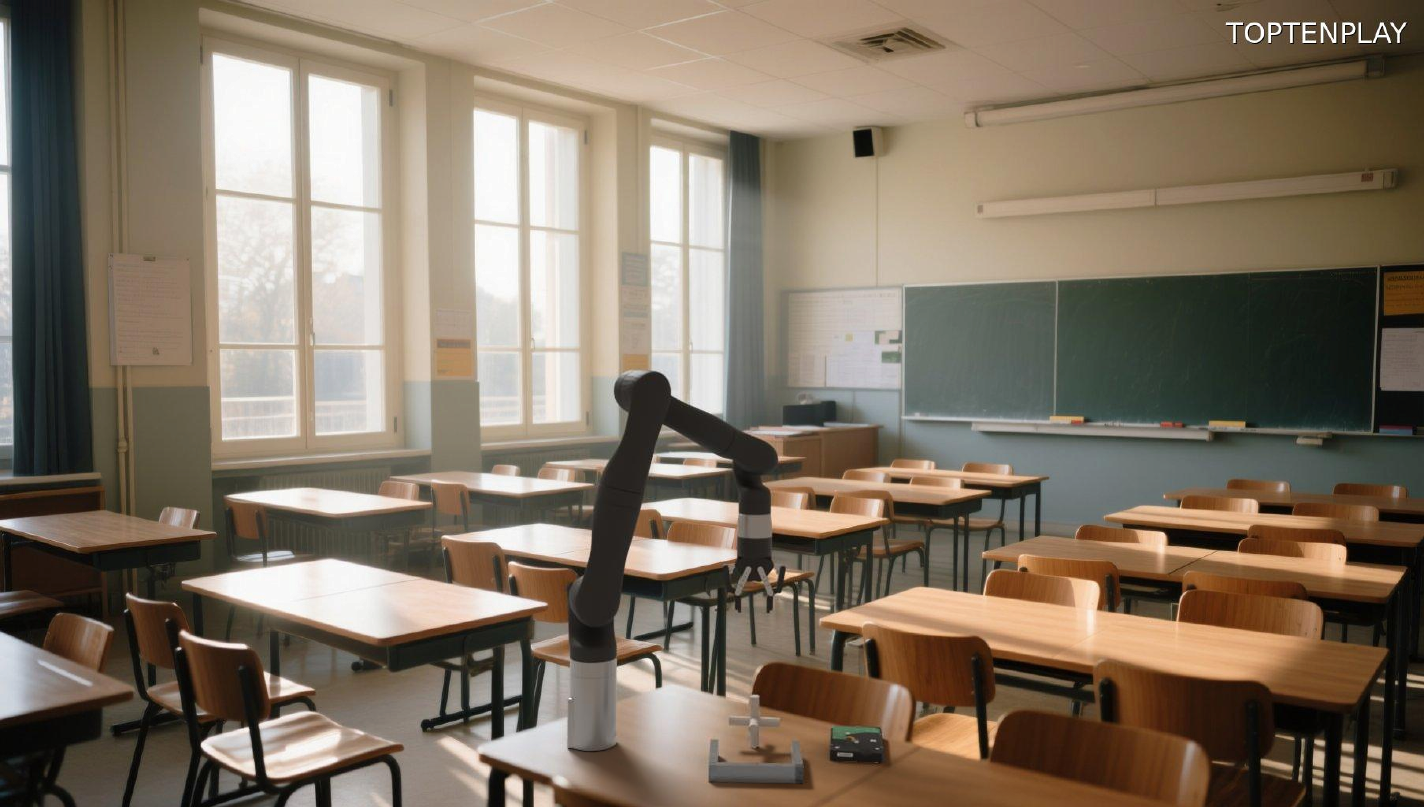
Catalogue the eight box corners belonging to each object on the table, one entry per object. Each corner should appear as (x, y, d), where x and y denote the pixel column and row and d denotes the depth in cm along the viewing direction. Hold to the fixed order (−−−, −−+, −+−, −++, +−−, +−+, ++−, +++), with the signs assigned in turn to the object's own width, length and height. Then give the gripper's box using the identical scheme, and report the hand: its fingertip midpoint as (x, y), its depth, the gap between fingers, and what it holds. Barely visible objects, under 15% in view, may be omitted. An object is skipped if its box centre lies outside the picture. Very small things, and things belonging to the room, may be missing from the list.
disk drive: (884, 767, 191) (881, 739, 206) (884, 752, 191) (881, 726, 206) (829, 764, 192) (829, 737, 207) (829, 749, 192) (830, 723, 207)
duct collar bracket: (708, 781, 181) (708, 765, 181) (710, 755, 195) (710, 739, 195) (803, 783, 181) (803, 767, 181) (798, 756, 194) (799, 741, 194)
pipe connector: (780, 739, 204) (780, 689, 204) (778, 757, 194) (779, 705, 194) (731, 737, 205) (731, 688, 205) (726, 754, 195) (727, 703, 195)
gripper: (720, 536, 215) (720, 615, 215) (788, 537, 214) (788, 616, 215) (721, 531, 222) (720, 608, 222) (787, 532, 222) (786, 609, 222)
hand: (753, 612), depth 218 cm, fingers open, 5 cm apart
